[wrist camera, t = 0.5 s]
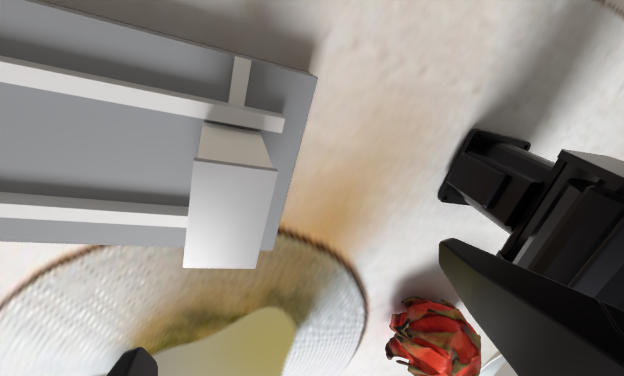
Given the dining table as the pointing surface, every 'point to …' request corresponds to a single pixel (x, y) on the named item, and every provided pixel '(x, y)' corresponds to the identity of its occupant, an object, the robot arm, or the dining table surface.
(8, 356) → the dining table surface
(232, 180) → the fader knob
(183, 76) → the fader console
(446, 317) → the dragon fruit
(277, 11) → the dining table surface
